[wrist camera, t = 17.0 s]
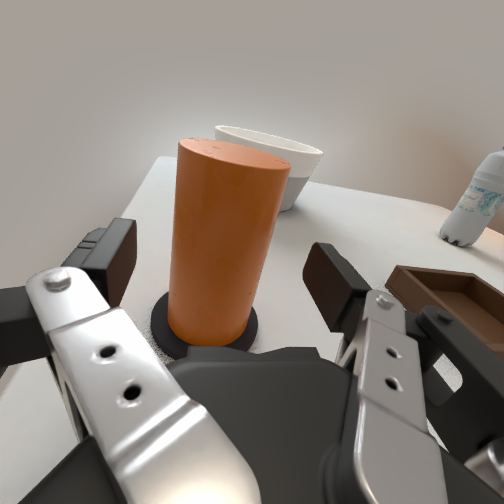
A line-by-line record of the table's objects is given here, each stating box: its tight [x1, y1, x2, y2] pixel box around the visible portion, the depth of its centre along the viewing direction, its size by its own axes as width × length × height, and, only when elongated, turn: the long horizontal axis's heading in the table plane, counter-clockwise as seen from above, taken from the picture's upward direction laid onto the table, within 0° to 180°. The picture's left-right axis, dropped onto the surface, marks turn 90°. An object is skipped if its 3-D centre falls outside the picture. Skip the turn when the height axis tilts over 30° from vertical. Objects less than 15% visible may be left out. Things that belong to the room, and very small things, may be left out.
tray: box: [385, 265, 504, 362], centre depth 26 cm, size 12×12×3 cm
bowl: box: [215, 126, 323, 212], centre depth 47 cm, size 19×19×11 cm
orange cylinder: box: [167, 138, 291, 346], centre depth 16 cm, size 6×6×12 cm
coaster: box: [151, 291, 258, 360], centre depth 19 cm, size 8×8×1 cm
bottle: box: [440, 147, 504, 247], centre depth 47 cm, size 7×7×20 cm
